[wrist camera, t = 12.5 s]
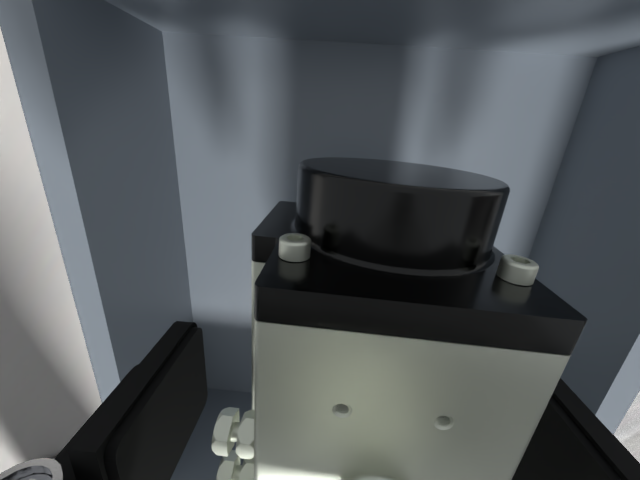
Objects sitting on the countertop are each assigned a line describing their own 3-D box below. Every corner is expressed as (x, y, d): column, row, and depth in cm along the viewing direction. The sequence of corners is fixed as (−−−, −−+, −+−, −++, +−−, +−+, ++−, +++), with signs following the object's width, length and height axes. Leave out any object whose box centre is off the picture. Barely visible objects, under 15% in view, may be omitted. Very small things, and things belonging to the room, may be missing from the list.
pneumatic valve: (419, 152, 14) (765, 259, 2) (380, 354, 18) (445, 735, 7) (299, 141, 14) (125, 196, 3) (288, 344, 18) (202, 697, 7)
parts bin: (479, 413, 20) (545, 547, 14) (193, 385, 21) (128, 501, 15) (612, 36, 13) (908, -62, 6) (149, 10, 13) (-35, -104, 7)
